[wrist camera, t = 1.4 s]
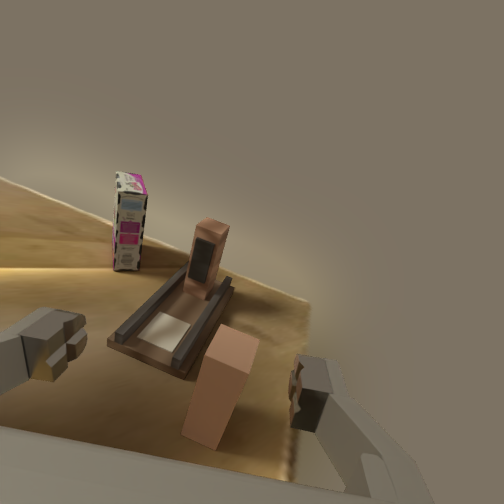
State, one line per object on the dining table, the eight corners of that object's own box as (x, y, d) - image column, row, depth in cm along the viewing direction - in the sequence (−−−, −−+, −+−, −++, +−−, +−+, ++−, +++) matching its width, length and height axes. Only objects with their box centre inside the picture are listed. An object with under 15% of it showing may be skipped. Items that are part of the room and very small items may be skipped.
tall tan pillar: (180, 434, 31) (204, 354, 24) (198, 396, 35) (222, 320, 29) (215, 450, 30) (249, 374, 24) (229, 410, 35) (261, 335, 28)
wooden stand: (107, 345, 37) (110, 254, 30) (181, 272, 57) (194, 205, 50) (183, 380, 36) (206, 293, 29) (232, 293, 56) (253, 228, 49)
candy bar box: (141, 271, 53) (149, 194, 46) (112, 272, 51) (116, 191, 43) (136, 242, 62) (142, 173, 54) (111, 242, 59) (114, 169, 51)
